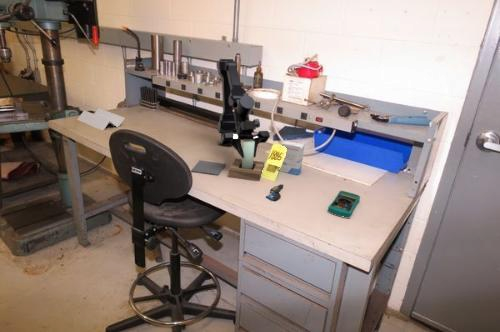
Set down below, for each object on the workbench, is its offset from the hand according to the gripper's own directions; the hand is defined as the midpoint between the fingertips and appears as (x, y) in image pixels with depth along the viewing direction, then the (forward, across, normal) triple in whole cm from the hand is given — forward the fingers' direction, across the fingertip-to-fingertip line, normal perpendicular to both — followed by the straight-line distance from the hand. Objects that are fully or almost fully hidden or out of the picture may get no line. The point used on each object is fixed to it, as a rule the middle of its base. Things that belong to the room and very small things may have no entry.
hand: (249, 157), depth 132 cm
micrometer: (+18, +6, -7) cm, 20 cm away
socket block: (+4, 0, +6) cm, 7 cm away
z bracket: (-49, -58, +59) cm, 96 cm away
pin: (+4, 0, +6) cm, 7 cm away
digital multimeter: (+27, +25, -16) cm, 40 cm away
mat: (-1, -14, +11) cm, 18 cm away
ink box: (+5, +18, +5) cm, 20 cm away
